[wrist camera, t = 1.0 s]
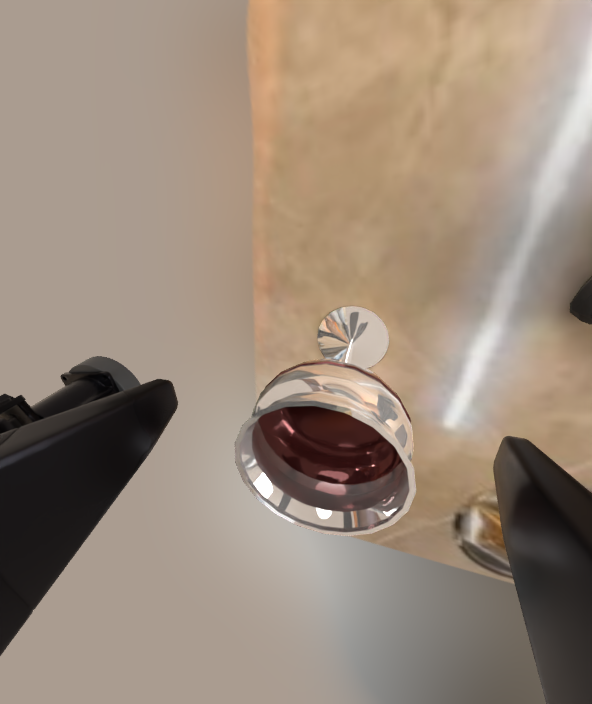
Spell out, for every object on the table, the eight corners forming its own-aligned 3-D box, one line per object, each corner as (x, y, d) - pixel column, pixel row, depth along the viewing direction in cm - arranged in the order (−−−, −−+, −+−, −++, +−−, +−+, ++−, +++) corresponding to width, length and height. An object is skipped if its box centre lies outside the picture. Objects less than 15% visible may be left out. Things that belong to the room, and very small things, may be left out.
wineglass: (296, 363, 23) (224, 495, 13) (318, 280, 20) (245, 370, 10) (381, 393, 23) (375, 559, 12) (420, 311, 19) (457, 445, 9)
